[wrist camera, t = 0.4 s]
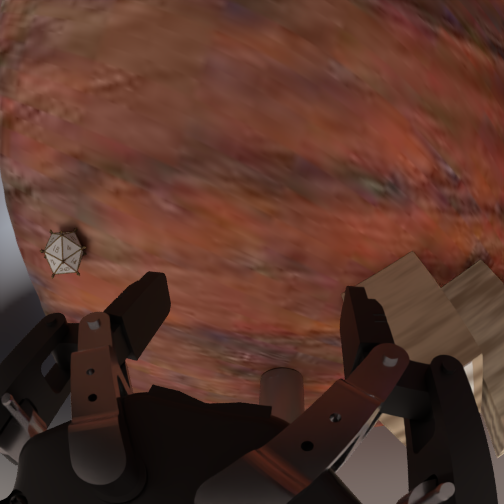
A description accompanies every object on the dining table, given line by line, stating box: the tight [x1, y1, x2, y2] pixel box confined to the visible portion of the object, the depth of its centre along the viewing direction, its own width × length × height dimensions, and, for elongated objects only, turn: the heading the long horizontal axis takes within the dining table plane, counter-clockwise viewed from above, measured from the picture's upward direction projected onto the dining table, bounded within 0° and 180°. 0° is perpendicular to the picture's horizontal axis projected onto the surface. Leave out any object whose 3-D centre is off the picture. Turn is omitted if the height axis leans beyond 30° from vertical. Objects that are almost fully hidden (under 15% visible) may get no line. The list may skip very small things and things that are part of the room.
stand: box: [341, 251, 504, 458], centre depth 31 cm, size 30×27×33 cm
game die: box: [40, 228, 86, 278], centre depth 40 cm, size 9×8×10 cm
